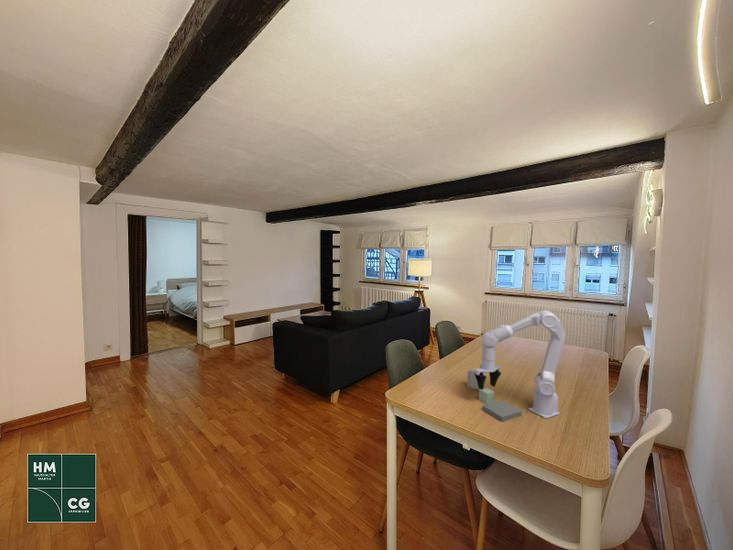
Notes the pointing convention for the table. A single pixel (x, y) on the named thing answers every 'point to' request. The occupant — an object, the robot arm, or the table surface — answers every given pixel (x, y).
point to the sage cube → (486, 396)
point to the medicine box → (473, 380)
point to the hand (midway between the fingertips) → (486, 387)
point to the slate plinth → (501, 410)
